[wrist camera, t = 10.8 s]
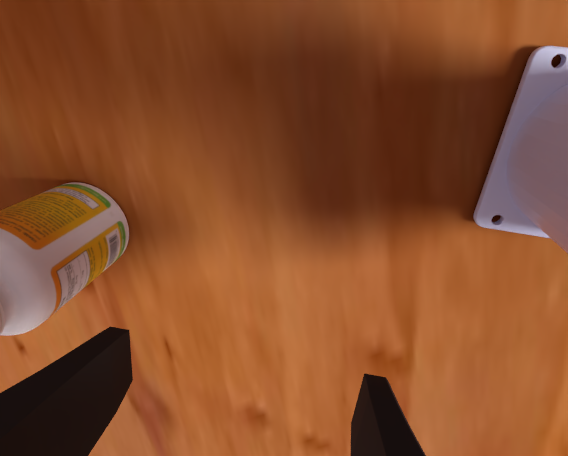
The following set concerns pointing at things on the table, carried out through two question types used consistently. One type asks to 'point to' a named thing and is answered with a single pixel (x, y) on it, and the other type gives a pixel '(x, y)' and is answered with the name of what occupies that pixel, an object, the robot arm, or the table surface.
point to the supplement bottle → (55, 251)
